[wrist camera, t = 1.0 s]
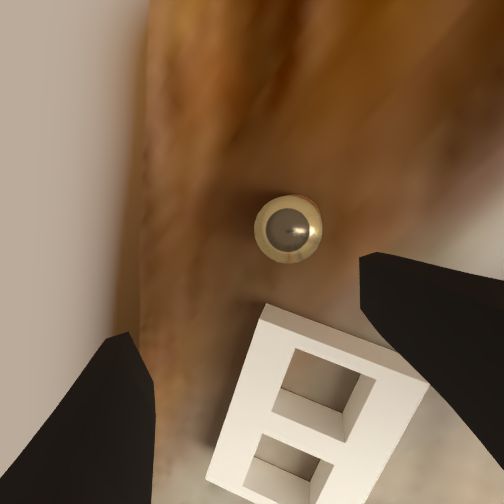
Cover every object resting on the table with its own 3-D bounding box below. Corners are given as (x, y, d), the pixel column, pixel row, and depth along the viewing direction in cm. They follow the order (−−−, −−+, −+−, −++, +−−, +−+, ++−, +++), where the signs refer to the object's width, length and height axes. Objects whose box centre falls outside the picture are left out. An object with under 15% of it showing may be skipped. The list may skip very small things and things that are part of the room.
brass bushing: (329, 203, 21) (332, 208, 16) (310, 254, 22) (308, 272, 18) (277, 187, 22) (265, 187, 17) (261, 237, 23) (246, 250, 18)
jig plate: (415, 359, 22) (430, 384, 19) (338, 505, 26) (341, 544, 24) (266, 303, 24) (259, 318, 21) (216, 449, 28) (204, 479, 25)
